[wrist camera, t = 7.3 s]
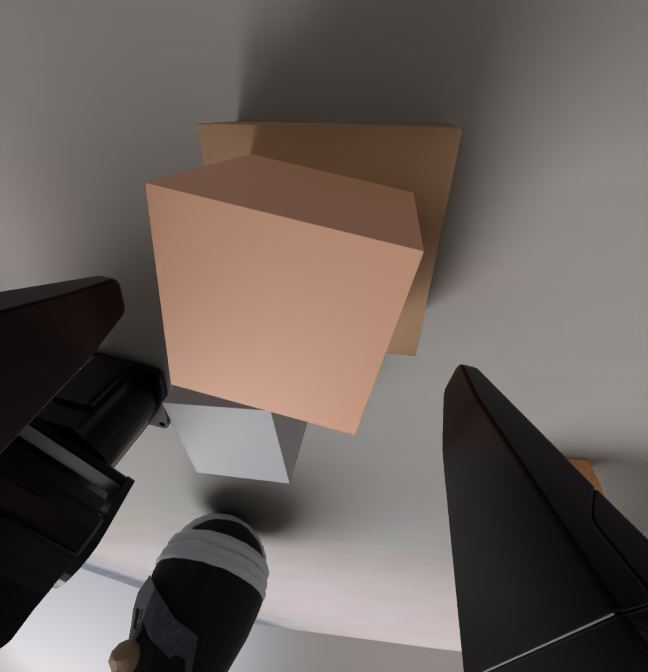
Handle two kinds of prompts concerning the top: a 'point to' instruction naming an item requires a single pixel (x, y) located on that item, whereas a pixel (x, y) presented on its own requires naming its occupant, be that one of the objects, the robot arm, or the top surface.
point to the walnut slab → (361, 177)
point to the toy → (197, 600)
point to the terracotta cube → (281, 283)
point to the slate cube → (234, 436)
